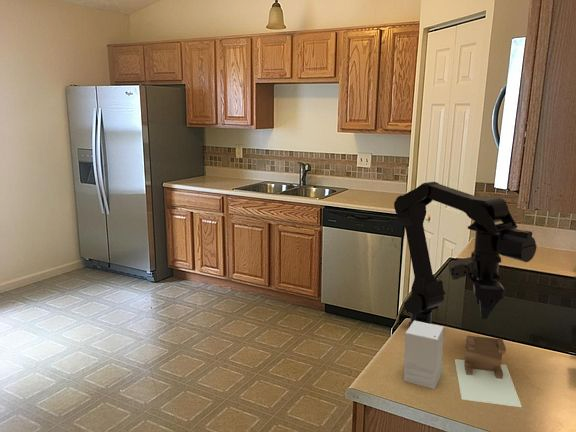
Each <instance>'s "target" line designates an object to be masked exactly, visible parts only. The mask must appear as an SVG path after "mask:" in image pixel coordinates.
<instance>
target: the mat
mask: <svg viewBox="0 0 576 432" xmlns="http://www.w3.org/2000/svg"><path fill="white" fill-rule="evenodd" d="M454 362H455V363H454V365H455V368H456V374H457V379H458V386H459V392H460V397H461V400H463V401H470V402H478V403H484V404H485V403H486V404H494V405H501V406H509V407H516V408H522V403H521V401H520V398H519V396H518V393H517V390H516V387H515V385H514V382H513V380H512V377H511V374H510V372H509V369H508V365H507V364H502V363H501V369H502V372H503V379H499V378H496V376H495V373H494V371H487V370H479V369H473V375H466V372H465V367H464V362H465V359H457V358H454Z"/></svg>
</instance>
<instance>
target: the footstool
mask: <svg viewBox="0 0 576 432" xmlns="http://www.w3.org/2000/svg"><path fill="white" fill-rule="evenodd" d="M506 348H507V347H506V345H505V342H504V340H503V339H502V338H494V337H485V336H476V335H475V336H474V335H466V339H465V351H464V360H465V362H464V367H465V372H466V375H473V369H479V370H487V371H494V373H495V376H496V378H499V379H503V372H502V369H501V364H502V359H503V358H502V357H503V354H506V351H507V349H506Z"/></svg>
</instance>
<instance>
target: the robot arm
mask: <svg viewBox="0 0 576 432" xmlns="http://www.w3.org/2000/svg"><path fill="white" fill-rule="evenodd" d="M433 201H434V202H438V203H440V204H443V205H446V206H448V207H451V208H453V209H456V210H458V211H462V213H463V212H464V213H465V214H466V216H467V217H468V218H469V219H470V220H472V221H474V222H473V223H471V224H470V225H468V226H467V229H468V230H471V231H474V232H475V236H474V237H475V238H474V247H473V248H474V250H473V251H471V253H470V254H471V255H470V257H465V258H459V259H456V260H451V261H449V262H448V263H447V266H448V271H449V273H450V277H451V280H454V281H455V280H459V279H461V278H465V277H468V278H469V279H470V280H471V281H472V282H473V287H472V288H473V296H474V298H475V299H476V303H477V305H479V310H480V317H481V320H482V319H483V320H486V319H488V318H489V316H490V314H491V313H492V311H493V310H494V309H495V307H496V306H497V305H498V304H499V302H500V301H502V300H503V299H505V294H506V293H505V292H506V291H505V288H504V286H503V285H502V283H500V281H498V280H500V274H499V267H500V264H501V263H502V257H501V256H503V257H506V258H508V259H509V258H510V259H513V260H515V261H516V260H517V261H520V262H524V263H529V262H530V261H531V260H532V259H533V258H534V257H535V255H536V253H537V247H538V246H537V243H536V240H535V238H534V237H533V232H532V231H530V230H521V229H518V225H517V223H516V222H515V220H514V218H513V215H512V214H511V212H510V210H509V206H508V204H507V201H506V200H504V199H503V198H501V197H495V196H487V195H485V196H484V195H473V194H470V193H467V192H464V191H462V190H459V189H455V188H453V187H449V186H446V185H443V184H441V183H439V182H436V181H428V182H423V183H421V184H420V185H419V186H417V187H415V188H414V189H412V190H410V191H408V192H407V193H405V194H403V195H399V196H397V197H396V199H395V200H394V202H393V208H394V211H395V213H396V217H397V219H398V221H399V222H400V223H401V224H402V226H403V227H404V229H405V233H406V239H407V244H408V249H409V254H410V255H409V256H410V260H411V265H412V271H413V275H414V276H413V277H414V279H413V281H412V286H411V288H410V289H411V297H410V298H409V299H407V300H406V301H404V302H403V306H404V310H405V311H406V312H408V313H410V321H409V322H408V328H409V327H410V326H411V324H412V323H413V321H414V320H415V321H419V322H424V323H429V324H432V319H433V318H432V317H433V316H432V315H433V310H437V309H439V307H440V305H441V304H442V303H443V302H444V299H445V295H446V292H445V290H444V283H443V281H442V280H438V279H437V277H435V275H434V274H433V270H432V263H431V258H430V254H429V248H428V242H427V237H426V233H425V228H424V222H425V219H426V215H427V206H428V205H429V204H431V203H432V202H433ZM499 222H501V223H499ZM496 223H497V224H496Z"/></svg>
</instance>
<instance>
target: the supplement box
mask: <svg viewBox="0 0 576 432" xmlns="http://www.w3.org/2000/svg"><path fill="white" fill-rule="evenodd" d="M444 333H445V326H443V325H436V324H432V323H431V324H429V323H424V322H419V321H415V320H414V321H413V323H412V324H411V326H410V327H409V326H408V328H407V329H406V331H405V333H404V334H405V335H404V337H405V338H404V360H403V361H404V363H403V381H404V382H408V383H411V384H413V385H414V384H415V385H416V386H417V385H418V386H421V387H425V388H427V389H428V388H429V389H432V390H435V389H436V386H437V385H438V383H439V381H440V378H441V376H442V369H443V368H442V367H443V349H444V335H445V334H444Z"/></svg>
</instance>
